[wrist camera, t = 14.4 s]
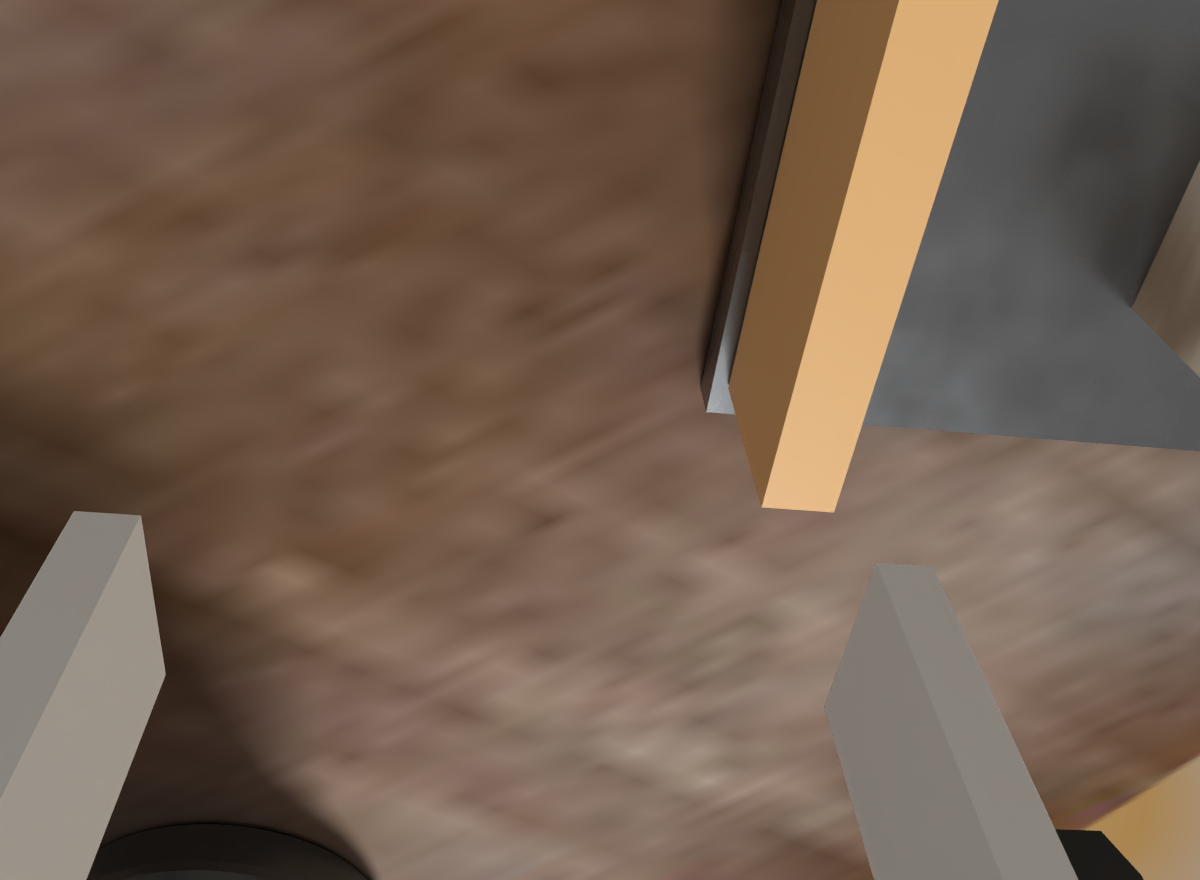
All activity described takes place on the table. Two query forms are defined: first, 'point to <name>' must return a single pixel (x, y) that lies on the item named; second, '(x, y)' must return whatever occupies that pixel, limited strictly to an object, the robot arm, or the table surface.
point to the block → (1177, 282)
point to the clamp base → (1024, 231)
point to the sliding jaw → (846, 231)
